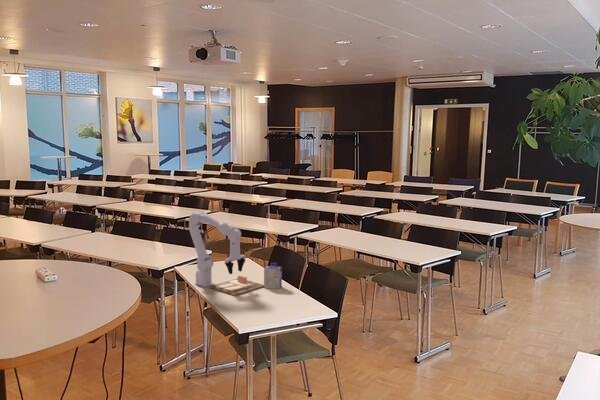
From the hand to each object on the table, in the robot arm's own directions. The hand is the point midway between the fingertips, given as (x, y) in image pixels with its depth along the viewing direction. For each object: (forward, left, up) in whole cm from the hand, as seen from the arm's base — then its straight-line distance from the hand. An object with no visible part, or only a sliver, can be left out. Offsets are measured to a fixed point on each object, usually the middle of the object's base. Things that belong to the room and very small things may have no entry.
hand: (235, 272), depth 292 cm
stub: (0, +4, -8) cm, 9 cm away
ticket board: (0, +2, -10) cm, 10 cm away
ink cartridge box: (+15, +17, -10) cm, 24 cm away
